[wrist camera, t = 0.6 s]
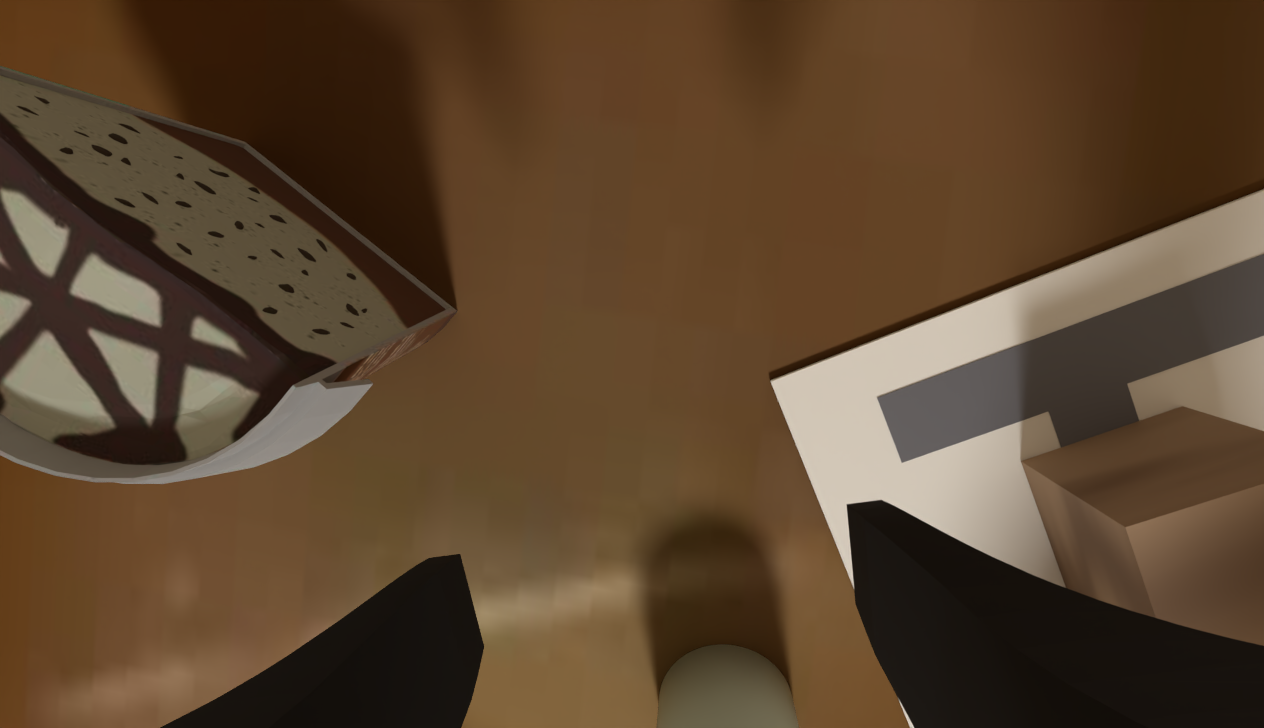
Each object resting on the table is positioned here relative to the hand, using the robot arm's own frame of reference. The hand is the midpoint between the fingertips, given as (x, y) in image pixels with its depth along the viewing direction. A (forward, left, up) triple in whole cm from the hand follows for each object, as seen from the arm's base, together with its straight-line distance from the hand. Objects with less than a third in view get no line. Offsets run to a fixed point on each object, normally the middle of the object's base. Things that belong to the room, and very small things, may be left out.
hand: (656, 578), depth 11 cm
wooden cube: (-8, -13, -10) cm, 18 cm away
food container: (+9, +10, -11) cm, 18 cm away
